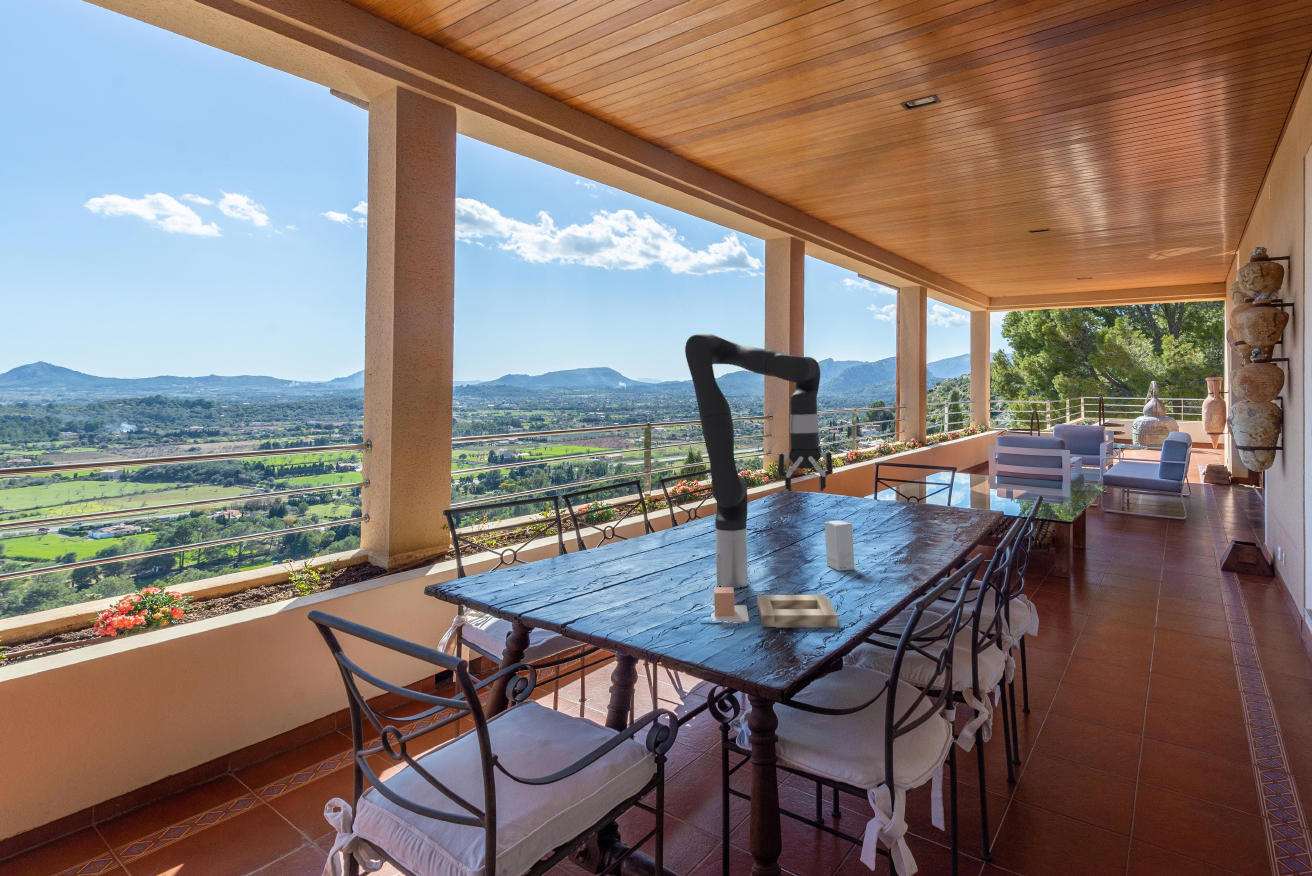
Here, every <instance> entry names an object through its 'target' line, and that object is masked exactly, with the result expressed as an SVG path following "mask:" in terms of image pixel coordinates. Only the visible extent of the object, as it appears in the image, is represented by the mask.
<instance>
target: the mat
mask: <svg viewBox="0 0 1312 876" xmlns="http://www.w3.org/2000/svg"><path fill="white" fill-rule="evenodd" d="M709 606H711V607H713V608H715V604H713V605H709ZM713 610H715V609H713ZM734 611H735V616H715V613H712V614H711V618H713V620H712V621H723V622H724V621H728V622H730V621H731V622H748V623H747V624H750V618H749V613H748V607H747V605H746V604H745V605H742V604H737V605H736V604H734Z"/></svg>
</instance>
